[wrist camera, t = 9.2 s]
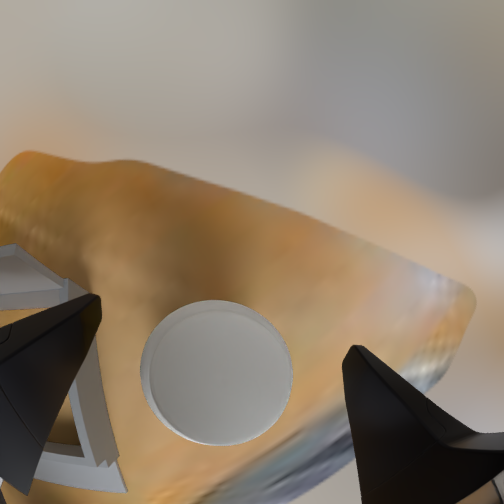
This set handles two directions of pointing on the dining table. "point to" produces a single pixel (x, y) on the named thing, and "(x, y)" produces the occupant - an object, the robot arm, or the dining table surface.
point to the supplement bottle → (216, 373)
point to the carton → (81, 391)
